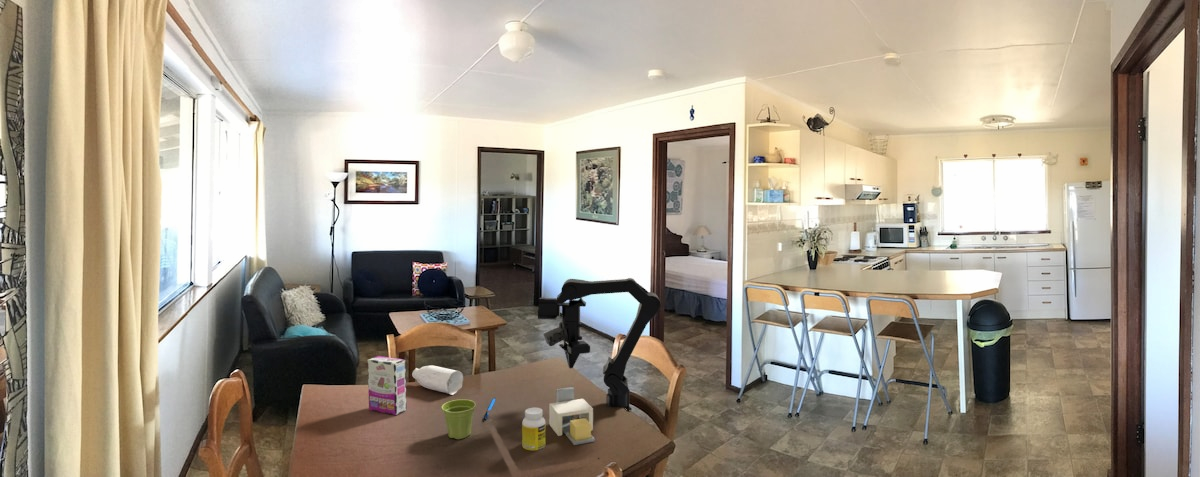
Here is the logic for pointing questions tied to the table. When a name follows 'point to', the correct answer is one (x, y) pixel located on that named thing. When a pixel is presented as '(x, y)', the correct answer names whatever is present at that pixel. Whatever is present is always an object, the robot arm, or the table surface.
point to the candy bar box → (387, 385)
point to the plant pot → (459, 417)
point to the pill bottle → (533, 429)
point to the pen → (488, 409)
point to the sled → (568, 395)
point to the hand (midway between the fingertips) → (570, 368)
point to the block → (580, 429)
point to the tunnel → (569, 413)
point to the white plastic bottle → (439, 378)
